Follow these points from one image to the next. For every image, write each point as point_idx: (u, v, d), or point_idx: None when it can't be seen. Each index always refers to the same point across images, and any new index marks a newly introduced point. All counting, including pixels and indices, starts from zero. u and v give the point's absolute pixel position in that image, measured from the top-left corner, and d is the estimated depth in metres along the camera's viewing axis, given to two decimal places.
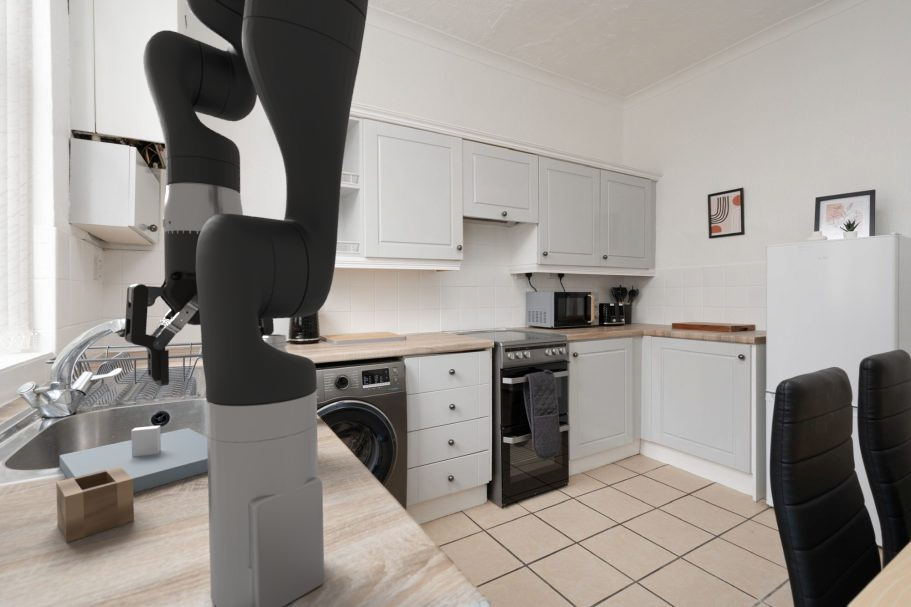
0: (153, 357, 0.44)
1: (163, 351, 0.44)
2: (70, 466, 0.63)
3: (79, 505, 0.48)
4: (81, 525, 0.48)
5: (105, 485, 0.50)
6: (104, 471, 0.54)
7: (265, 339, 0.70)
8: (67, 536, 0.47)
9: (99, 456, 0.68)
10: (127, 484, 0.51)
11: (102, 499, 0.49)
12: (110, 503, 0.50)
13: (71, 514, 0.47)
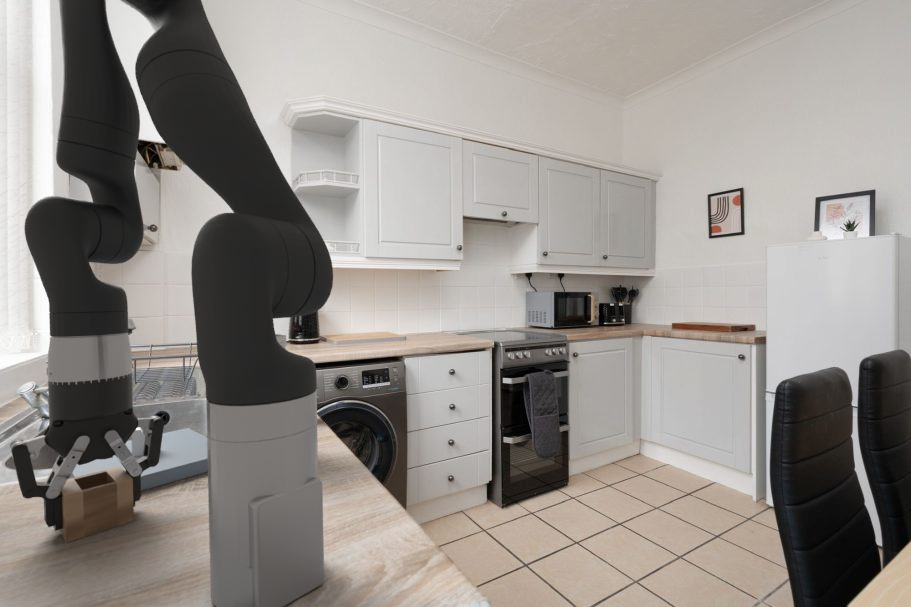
0: (47, 505, 0.48)
1: (57, 498, 0.48)
2: None
3: (79, 505, 0.48)
4: (81, 525, 0.48)
5: (105, 485, 0.50)
6: (104, 471, 0.54)
7: None
8: (67, 536, 0.47)
9: None
10: (127, 484, 0.51)
11: (102, 499, 0.49)
12: (110, 503, 0.50)
13: (71, 514, 0.47)
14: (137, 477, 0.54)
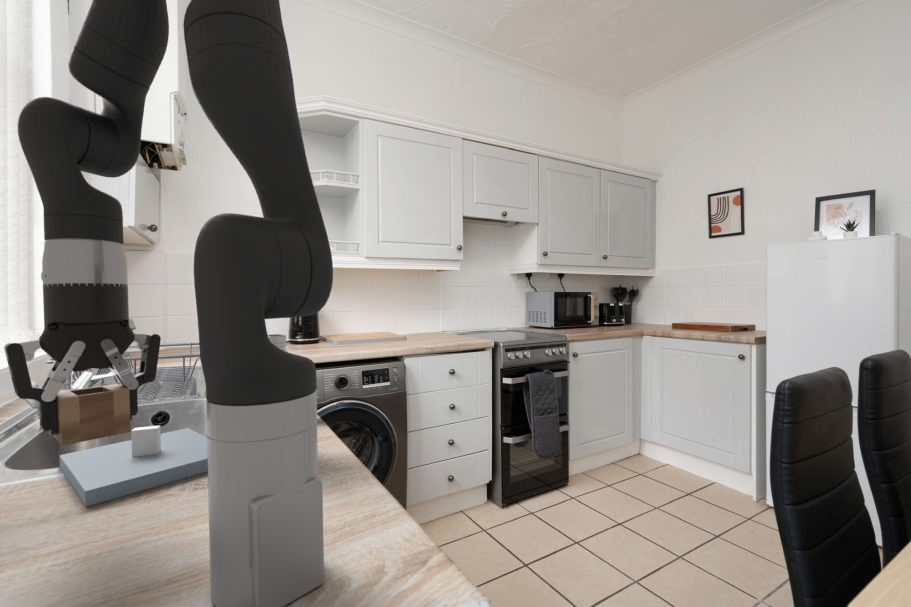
0: (43, 409, 0.47)
1: (53, 402, 0.47)
2: (70, 466, 0.63)
3: (75, 409, 0.47)
4: (77, 430, 0.47)
5: (101, 392, 0.49)
6: (100, 386, 0.53)
7: None
8: (63, 439, 0.47)
9: (99, 456, 0.68)
10: (123, 393, 0.51)
11: (98, 406, 0.49)
12: (106, 411, 0.49)
13: (67, 417, 0.47)
14: (134, 391, 0.53)
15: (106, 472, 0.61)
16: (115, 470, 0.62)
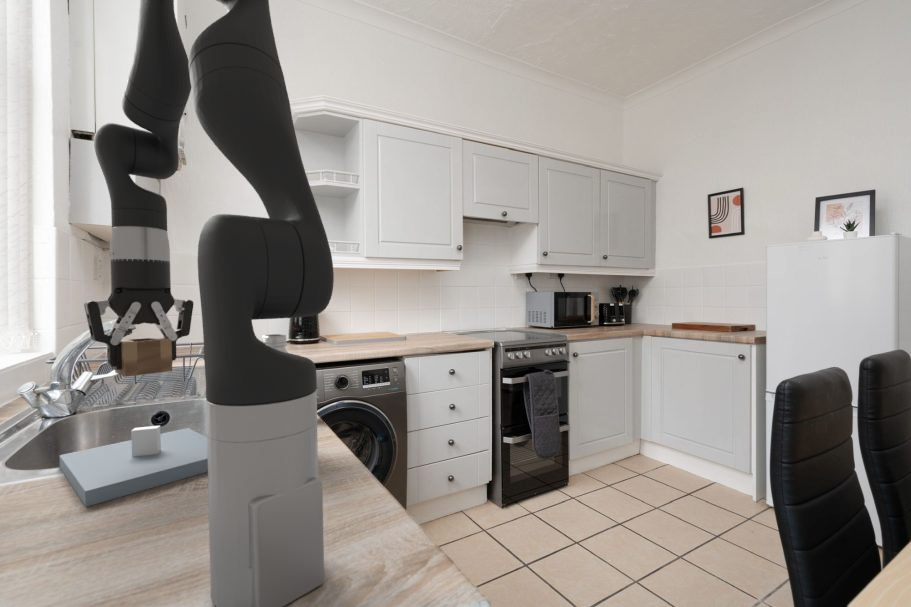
0: (111, 350, 0.65)
1: (118, 346, 0.65)
2: (70, 466, 0.63)
3: (134, 351, 0.65)
4: (135, 366, 0.65)
5: (152, 340, 0.67)
6: (148, 338, 0.71)
7: (265, 339, 0.70)
8: (126, 372, 0.64)
9: (99, 456, 0.68)
10: (167, 342, 0.68)
11: (150, 350, 0.66)
12: (155, 354, 0.67)
13: (128, 356, 0.64)
14: (173, 342, 0.71)
15: (106, 472, 0.61)
16: (115, 470, 0.62)
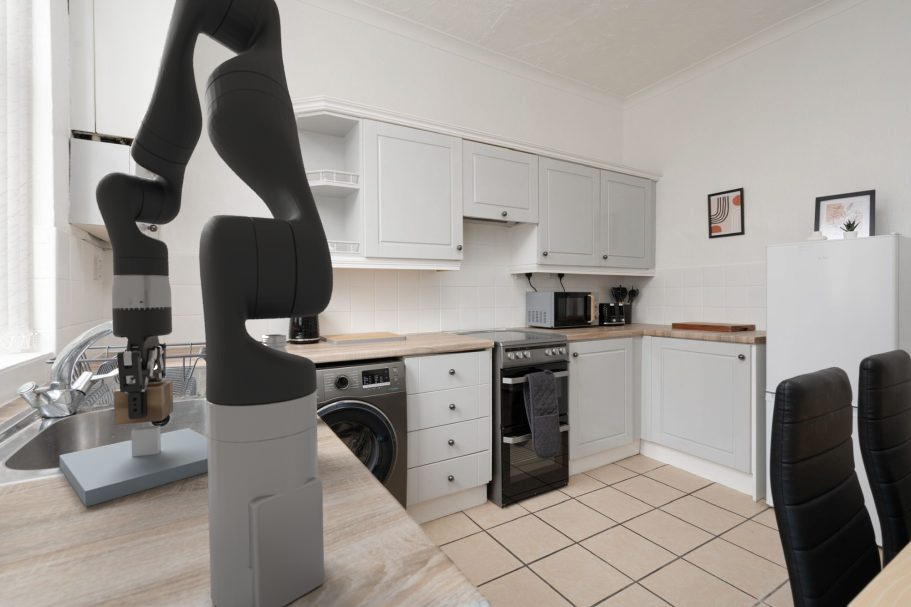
0: (141, 398, 0.65)
1: (145, 393, 0.65)
2: (70, 466, 0.63)
3: (163, 395, 0.67)
4: (164, 409, 0.68)
5: (166, 383, 0.70)
6: None
7: (265, 339, 0.70)
8: (162, 416, 0.67)
9: (99, 456, 0.68)
10: (171, 384, 0.72)
11: (167, 393, 0.69)
12: (168, 396, 0.70)
13: (162, 400, 0.67)
14: None
15: (106, 472, 0.61)
16: (115, 470, 0.62)
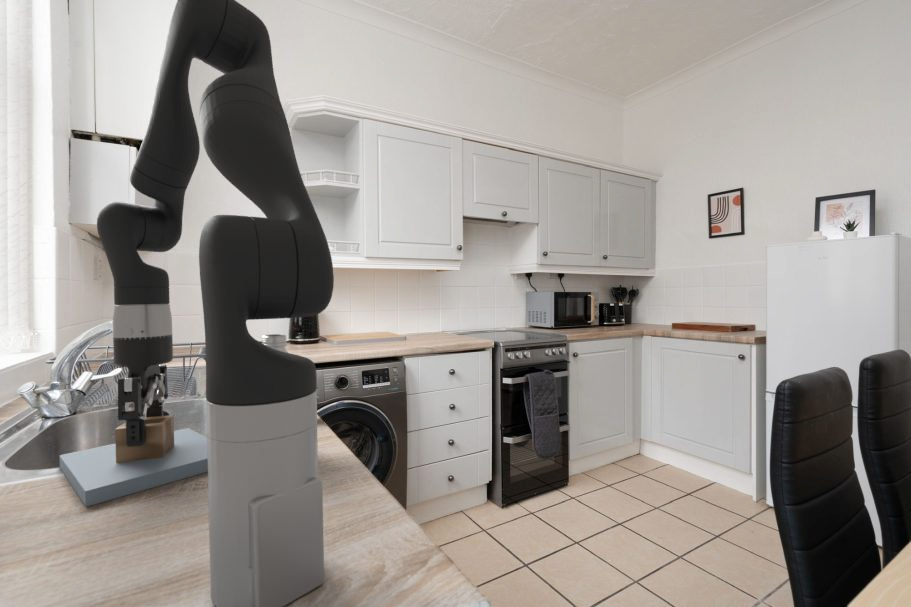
0: (139, 426, 0.64)
1: (144, 420, 0.65)
2: (70, 466, 0.63)
3: (165, 431, 0.68)
4: (165, 445, 0.68)
5: (167, 419, 0.70)
6: None
7: (265, 339, 0.70)
8: (163, 453, 0.67)
9: (99, 456, 0.68)
10: (172, 418, 0.72)
11: (168, 428, 0.69)
12: (170, 431, 0.70)
13: (163, 437, 0.67)
14: None
15: (106, 472, 0.61)
16: (115, 470, 0.62)
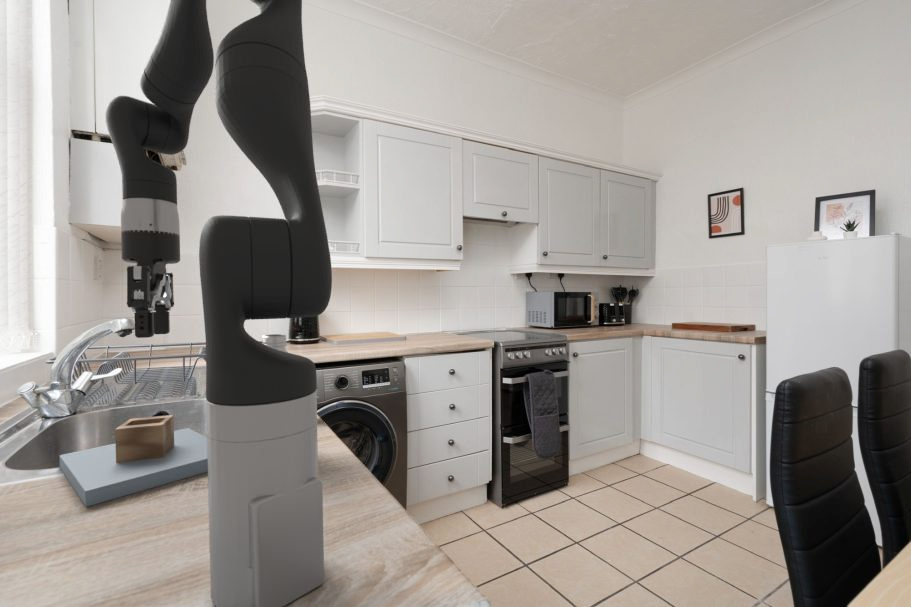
0: (147, 316, 0.64)
1: (152, 312, 0.65)
2: (70, 466, 0.63)
3: (165, 431, 0.68)
4: (165, 445, 0.68)
5: (167, 419, 0.70)
6: (130, 421, 0.69)
7: (265, 339, 0.70)
8: (163, 453, 0.67)
9: (99, 456, 0.68)
10: (172, 418, 0.72)
11: (168, 428, 0.69)
12: (170, 431, 0.70)
13: (163, 437, 0.67)
14: None
15: (106, 472, 0.61)
16: (115, 470, 0.62)
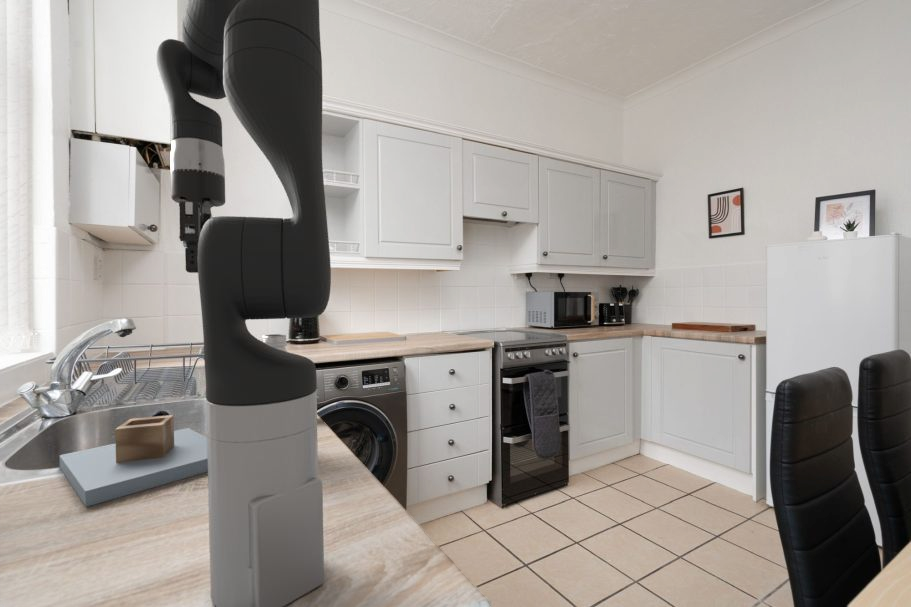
0: (198, 252, 0.66)
1: None
2: (70, 466, 0.63)
3: (165, 431, 0.68)
4: (165, 445, 0.68)
5: (167, 419, 0.70)
6: (130, 421, 0.69)
7: (265, 339, 0.70)
8: (163, 453, 0.67)
9: (99, 456, 0.68)
10: (172, 418, 0.72)
11: (168, 428, 0.69)
12: (170, 431, 0.70)
13: (163, 437, 0.67)
14: None
15: (106, 472, 0.61)
16: (115, 470, 0.62)
